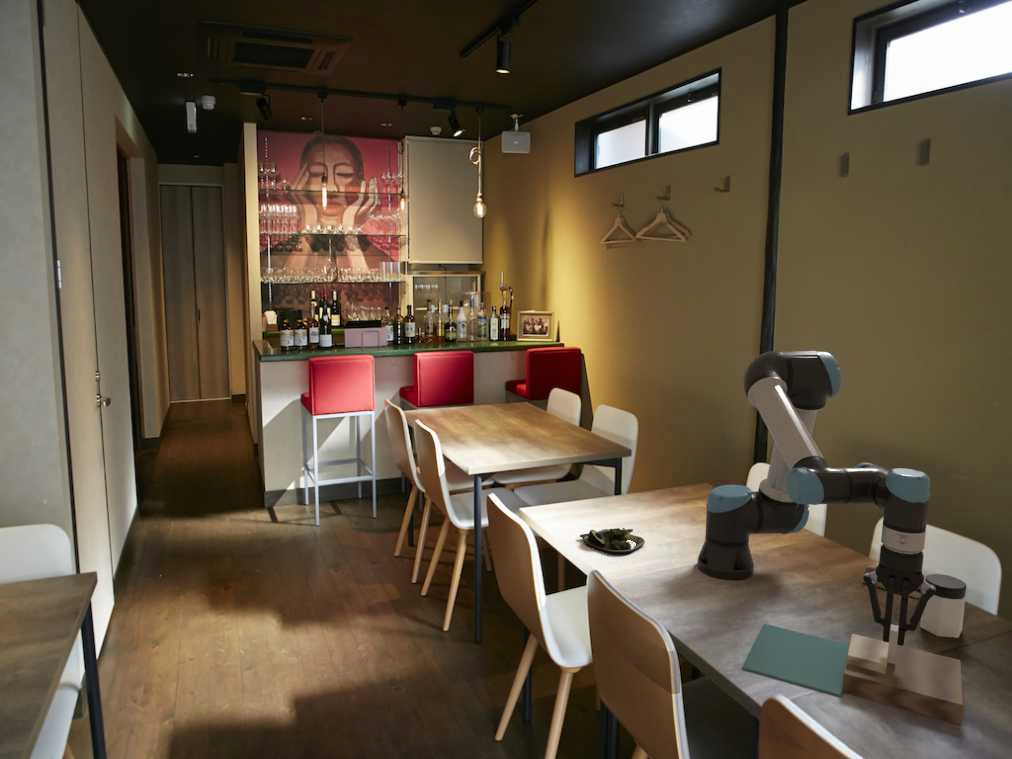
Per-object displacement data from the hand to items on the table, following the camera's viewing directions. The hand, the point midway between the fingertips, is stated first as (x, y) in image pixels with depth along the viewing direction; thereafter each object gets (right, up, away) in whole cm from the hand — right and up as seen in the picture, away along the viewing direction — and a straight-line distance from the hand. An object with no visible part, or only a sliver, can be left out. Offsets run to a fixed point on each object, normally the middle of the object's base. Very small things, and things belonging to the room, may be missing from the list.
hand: (891, 657), depth 145 cm
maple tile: (-4, -1, +2) cm, 4 cm away
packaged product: (+27, +1, +45) cm, 52 cm away
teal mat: (-15, -4, +9) cm, 18 cm away
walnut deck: (+2, -5, 0) cm, 6 cm away
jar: (+24, -2, +22) cm, 33 cm away
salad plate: (-46, +6, +73) cm, 87 cm away
